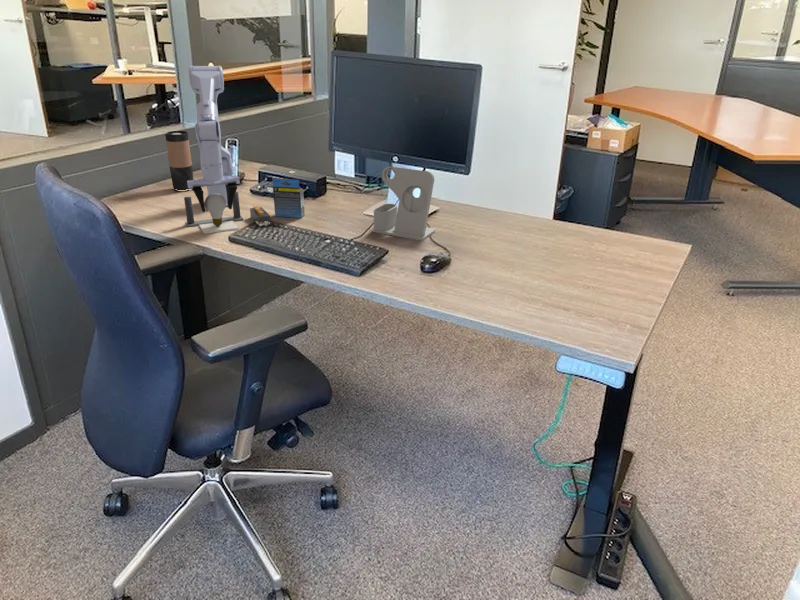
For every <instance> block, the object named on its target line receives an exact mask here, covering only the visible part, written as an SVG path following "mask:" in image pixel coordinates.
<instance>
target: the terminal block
mask: <svg viewBox="0 0 800 600" xmlns="http://www.w3.org/2000/svg"><path fill="white" fill-rule="evenodd" d="M252 206H253V208H252V207H250V208H249V212H250V218H251V220H252V221H253V222H254V221H258V222H264V221H268V222H271V219H272V218H271V215H270V214H269V213H268V212H267V211H266V210H265V208H263V207H262V206H258V205H252ZM271 223H272V222H271Z"/></svg>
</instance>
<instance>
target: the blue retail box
mask: <svg viewBox="0 0 800 600" xmlns="http://www.w3.org/2000/svg"><path fill="white" fill-rule="evenodd" d="M271 180H272V192H273V204H274V206H273V207H274V216H275V218H278V217H279V218H280V217H281V218H297V219H302V218H303V217H304V216H305V198H304V196H305V195H304V189H303V188H301V187H300V180H299V179H289V178H273V177H272V179H271ZM283 183H284V184H283ZM285 183H287V184H285Z"/></svg>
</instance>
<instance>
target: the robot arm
mask: <svg viewBox="0 0 800 600" xmlns="http://www.w3.org/2000/svg"><path fill="white" fill-rule="evenodd" d="M188 79H189V80H188V81H189V84H190V85H189V86H190V88H191V90H192V91H193V93H194V94H197V95H199V99H200V101H199V102H198V103H197V106H196V122H195V123H194V129H195V138H196V140H197V145H198V146H197V147H198V149H199V157H200V162H199V163H200V171H201V176H202V177H201V178H196V179H193V180H190V181H187V185H188V188H189V189H192V190H191V191H193V193H194V195H195V197H196V200H197V201H198V203H199V205H200V209H201V212H202V213H206V206H205V199H204V198H205V197H204V191H203V187H205V188H206V189H207V191H206V192H207V196H208V195H210V194H212V193H218V194H220V195H222V196H223V197H224V199H225V201H226V206H225V207H227V208H228V209H229V210H232V209H233V203H232V202H233V198H234V195H235V192H237V189H238V185H240V184H241V182H240V177H239V176H238V175H236V176H235V175H234V176H233V174H234V172H233V171H234V170H233V169H234V168H233V159H232V154H231V152H230V150H228V149H226V148H225V147H223V146H222V136H221V135H222V133H221V125H220V118H219V110H218V96H219V94H221V93H224V90H225V87H224V86H225V81H224V71H223V67H222V66H221V65H189V67H188Z"/></svg>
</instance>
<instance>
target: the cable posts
mask: <svg viewBox="0 0 800 600" xmlns="http://www.w3.org/2000/svg"><path fill="white" fill-rule="evenodd" d="M239 197H240V196H239V192H238V191H236V192H235V195H234V198H233V202H232V203H233V205H232V209H233V210H232V211H233V215H232V216H228V217H227V216H226V217H222V222H225V221H233V222H238V221H244V217H243V216H242V215H241V208H240V206H241V205H240V198H239ZM183 199H184V200H183V201H184V207H185V215H186V221H185V222H184V225H185V227H186V228H192V227H198V226H199V225H201V224H209V223H213V220H212V218H210V219H201V220H195V217H194V209H193V202H192V197H191V196H184V197H183Z"/></svg>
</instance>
